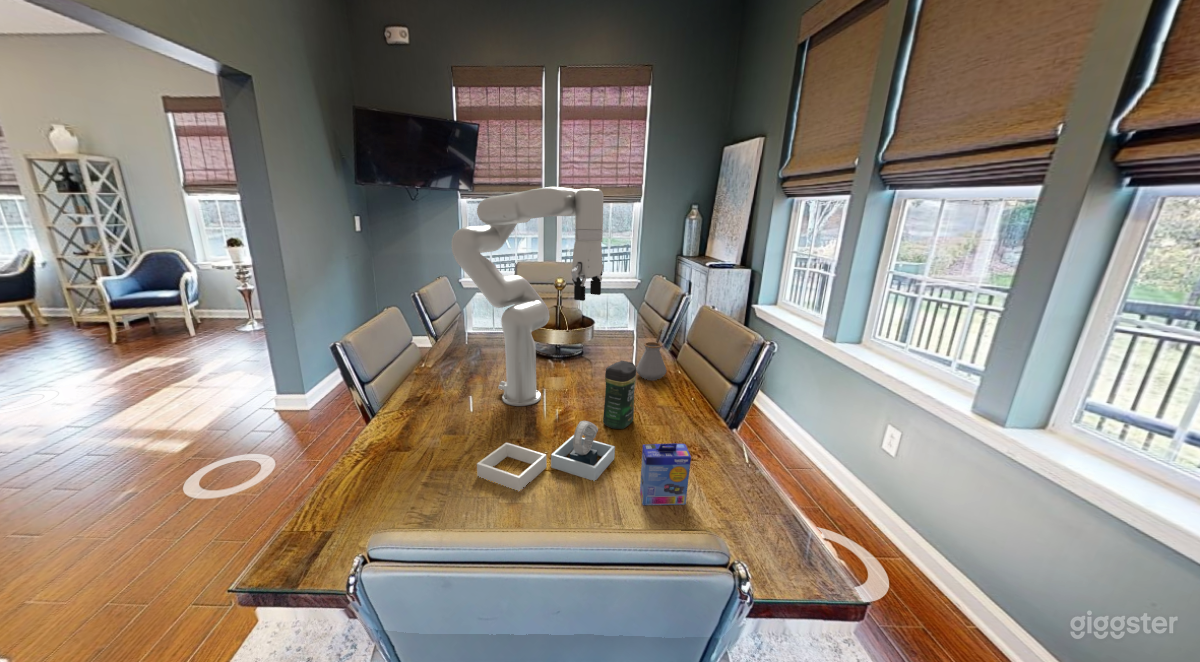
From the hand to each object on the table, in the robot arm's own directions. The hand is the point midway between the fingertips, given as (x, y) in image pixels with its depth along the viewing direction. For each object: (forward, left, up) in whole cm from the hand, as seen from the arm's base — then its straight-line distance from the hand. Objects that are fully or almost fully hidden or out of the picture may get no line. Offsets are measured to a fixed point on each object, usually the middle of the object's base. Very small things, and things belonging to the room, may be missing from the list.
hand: (587, 297), depth 127 cm
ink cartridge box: (+34, -28, -37) cm, 57 cm away
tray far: (+12, -24, -37) cm, 45 cm away
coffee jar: (+11, 0, -37) cm, 39 cm away
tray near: (-1, -35, -37) cm, 51 cm away
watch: (+12, -24, -37) cm, 46 cm away
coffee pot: (+6, +45, -37) cm, 59 cm away
